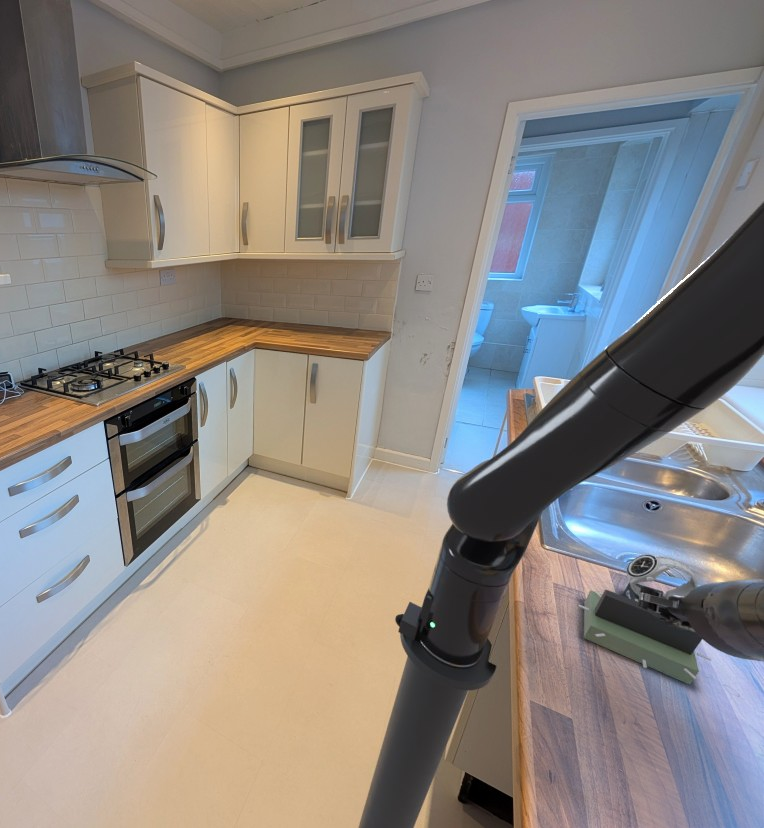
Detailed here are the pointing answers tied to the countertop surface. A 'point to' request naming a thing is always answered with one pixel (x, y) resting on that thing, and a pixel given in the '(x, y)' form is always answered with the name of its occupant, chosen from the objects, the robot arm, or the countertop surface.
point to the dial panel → (637, 644)
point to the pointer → (644, 622)
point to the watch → (655, 575)
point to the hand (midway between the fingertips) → (672, 618)
